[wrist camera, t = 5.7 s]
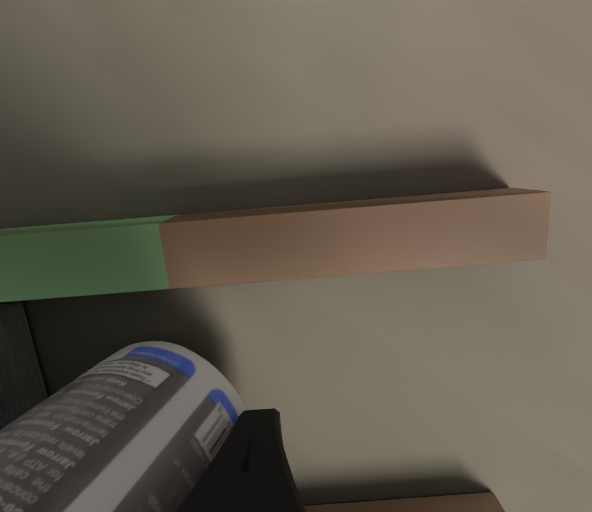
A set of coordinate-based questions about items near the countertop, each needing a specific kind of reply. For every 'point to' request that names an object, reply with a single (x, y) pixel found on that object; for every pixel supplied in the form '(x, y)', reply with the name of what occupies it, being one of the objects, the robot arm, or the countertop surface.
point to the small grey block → (17, 366)
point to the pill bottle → (120, 435)
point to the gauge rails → (282, 259)
